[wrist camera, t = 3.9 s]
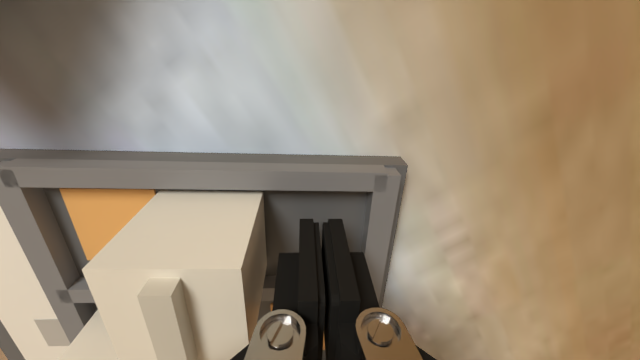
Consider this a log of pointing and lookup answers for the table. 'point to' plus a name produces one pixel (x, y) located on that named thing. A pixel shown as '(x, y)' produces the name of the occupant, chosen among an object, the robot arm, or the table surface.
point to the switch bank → (135, 192)
